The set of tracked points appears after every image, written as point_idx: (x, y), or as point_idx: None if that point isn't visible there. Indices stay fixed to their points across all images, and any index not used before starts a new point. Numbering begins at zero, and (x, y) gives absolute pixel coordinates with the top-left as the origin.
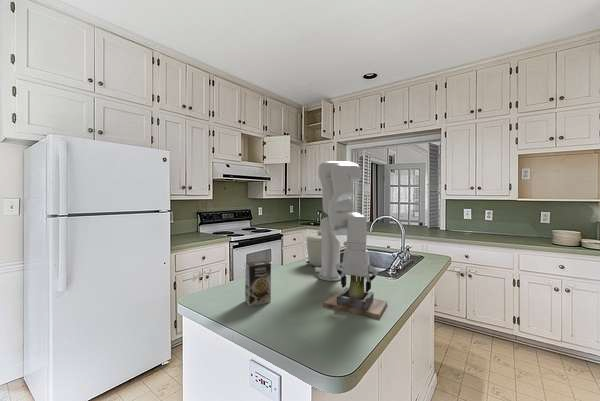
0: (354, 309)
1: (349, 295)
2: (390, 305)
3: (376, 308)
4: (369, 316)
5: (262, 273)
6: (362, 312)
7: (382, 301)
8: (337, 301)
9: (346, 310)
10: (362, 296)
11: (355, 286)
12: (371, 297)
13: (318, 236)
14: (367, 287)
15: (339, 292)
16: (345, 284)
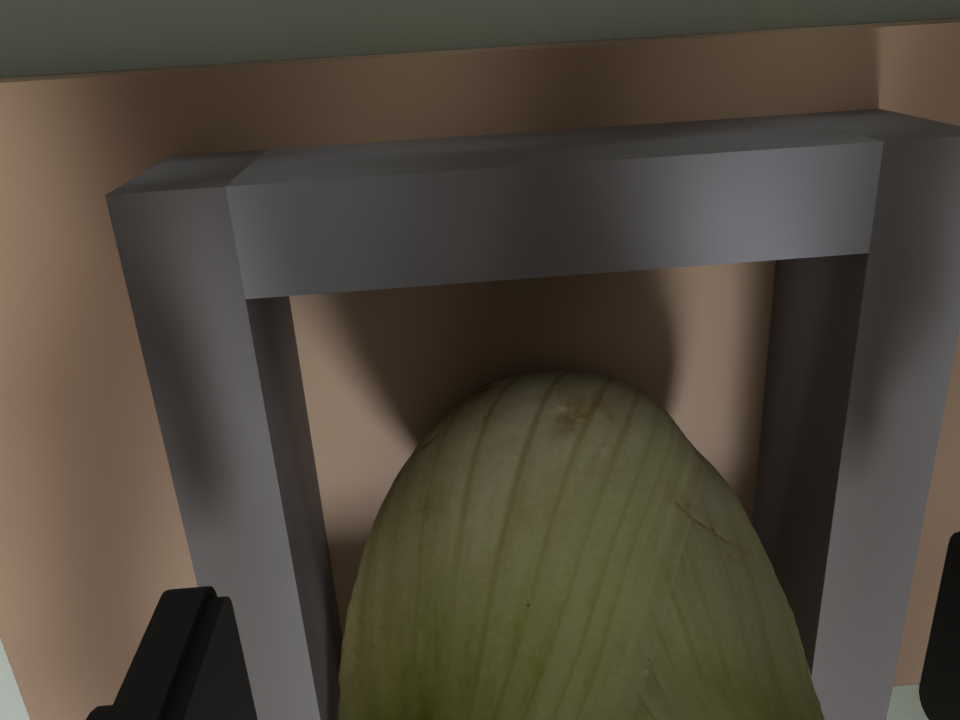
0: (412, 56)
1: (697, 455)
2: (18, 716)
3: (33, 373)
4: (77, 73)
5: None
6: (221, 68)
7: None
8: (894, 115)
9: (596, 41)
10: (375, 524)
11: (605, 668)
12: None
13: None
14: (116, 696)
15: None
16: (955, 687)
